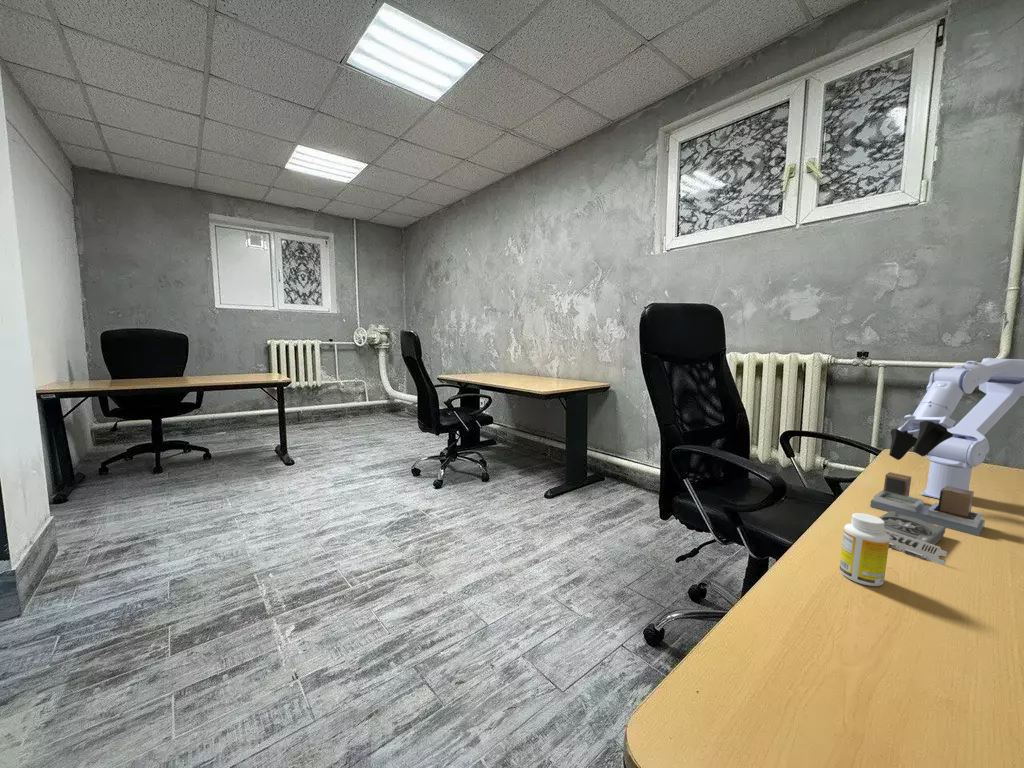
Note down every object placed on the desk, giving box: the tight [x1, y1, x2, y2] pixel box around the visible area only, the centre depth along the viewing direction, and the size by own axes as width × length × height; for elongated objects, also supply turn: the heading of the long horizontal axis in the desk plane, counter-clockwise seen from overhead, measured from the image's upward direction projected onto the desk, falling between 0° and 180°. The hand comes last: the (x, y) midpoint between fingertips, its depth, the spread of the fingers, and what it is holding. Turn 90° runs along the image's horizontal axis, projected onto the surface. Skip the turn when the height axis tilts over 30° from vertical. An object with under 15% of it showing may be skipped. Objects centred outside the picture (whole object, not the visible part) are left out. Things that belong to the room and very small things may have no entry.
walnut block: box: [883, 471, 912, 497], centre depth 101 cm, size 4×4×6 cm
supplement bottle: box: [839, 512, 889, 587], centre depth 66 cm, size 6×6×10 cm
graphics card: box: [878, 511, 948, 566], centre depth 79 cm, size 17×4×12 cm
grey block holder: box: [869, 486, 986, 537], centre depth 91 cm, size 8×17×8 cm, turn 36°
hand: (906, 455), depth 96 cm, fingers open, 7 cm apart
